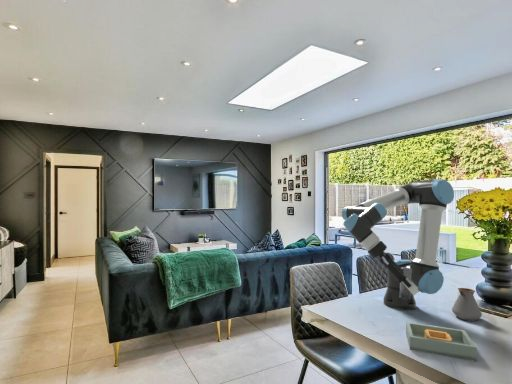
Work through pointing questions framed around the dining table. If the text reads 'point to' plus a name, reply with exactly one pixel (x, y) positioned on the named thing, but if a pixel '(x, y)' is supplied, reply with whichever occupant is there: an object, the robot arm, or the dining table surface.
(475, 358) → the walled box
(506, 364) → the dining table surface
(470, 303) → the coffee pot
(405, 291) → the peg
